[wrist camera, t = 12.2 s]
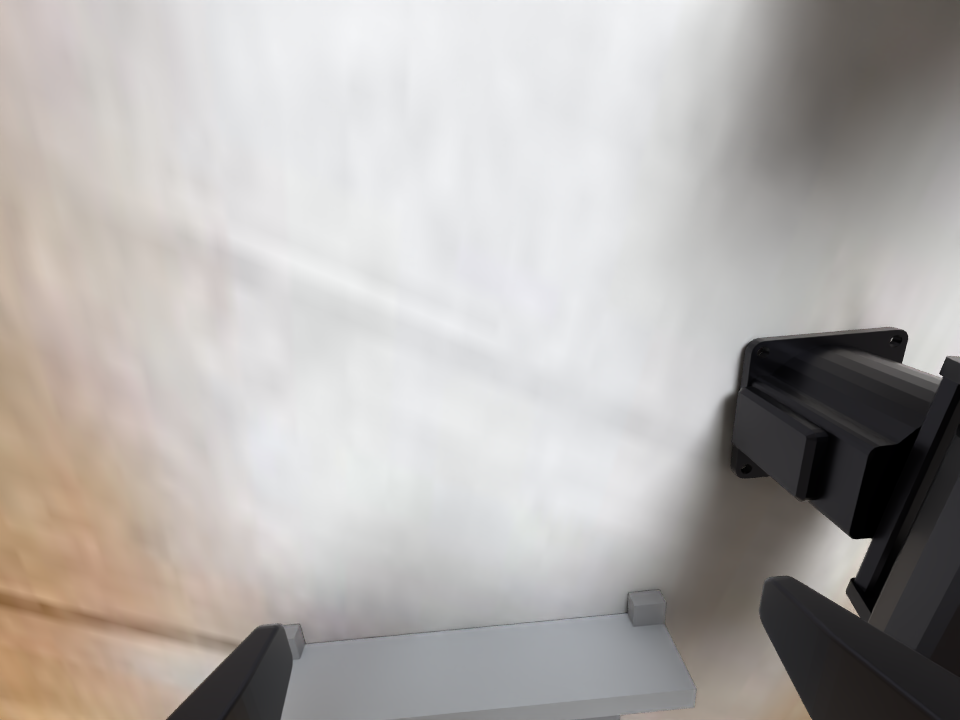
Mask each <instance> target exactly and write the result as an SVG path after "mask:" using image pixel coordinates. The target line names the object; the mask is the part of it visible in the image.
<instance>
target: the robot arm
mask: <svg viewBox="0 0 960 720" xmlns="http://www.w3.org/2000/svg"><path fill="white" fill-rule="evenodd" d="M891 338H893V339H892V341H891V342H890V340H891ZM907 342H908V335H907V332H905V331H904V330H901V329H898V328H894V327H883V328H872V329H860V330H848V331H836V332H825V333H813V334H801V335H790V336H778V337H766V338H757V339H754V340H752V341H751V342H750V343H749V344H748V345H747V347H746V350H745V357H744V365H743V372H742V380H741V388H740V391H739V393H738V398H737V406H736V414H735V422H734V429H733V437H732V443H733V450H732V457H731V470H732V471H733V472H734V473H735V474H736V475H737V476H738V477H740V478H756V477H767V476H771V477H772V478H773V479H774V480H775V481H776V482H778V483H779V484H780V485H781V486H782V487H783V488H785V489H786V490H787V491H788V492H789V493H790V494H792V495H793V496H794V497H795V498H796V499H797V500H799V501H801V502H803V501H808V502H809V503H810V504H812V505H813V506H814V507H815V508H816V509H818V510H819V511H820V512H821V513H822V514H823V515H825V516H826V517H827V518H828V519H829V520H831V521H832V522H833V523H834V524H835V525H837V526H838V527H839V528H840V529H841V530H842V531H844V532H845V533H846V534H847V535H848V536H850V537H851V538H852V539H865V538H871V539H872V541H871V543H870V546H869V548H868V550H867V552H866V555H865V557H864V559H863V562H862V564H861V566H860V569H859V571H858V573H857V575H856V578H851V580H850V582H849V584H848V587H847V589H846V594H847V596H848V598H849V599H850V601H851V603H852V604H853V606H854V608H855V610H856V611H857V613H858V615H859V616H860V617H858V616H856V615H855V614H853V613H851V612H850V611H848V610H846V609H845V608H843V607H841V606H840V605H838V604H836V603H835V602H833V601H831V600H830V599H828V598H826V597H825V596H823V595H821V594H820V593H818V592H816V591H815V590H813V589H811V588H810V587H808V586H806V585H805V584H803V583H801V582H800V581H798V580H796V579H794V578H792V577H790V576H777V577H769V578H767V579H766V580H765V581H764V585H763V591H762V596H761V602H760V607H759V613H760V619H761V621H762V624H763V626H764V628H765V630H766V632H767V634H768V636H769V638H770V640H771V642H772V644H773V646H774V647H775V649H776V651H777V653H778V655H779V657H780V659H781V661H782V663H783V665H784V667H785V669H786V671H787V673H788V675H789V677H790V679H791V681H792V682H793V684H794V686H795V688H796V690H797V692H798V694H799V696H800V698H801V700H802V702H803V704H804V705H805V707H806V709H807V711H808V713H809V715H810V717H811V718H812V720H960V357H957V356H947V357H946V359H945V361H944V364H943V366H942V368H941V371H940V373H939V374H940V375H942V376H943V377H942V378H940V377H937V376H934V375H932V374H929V373H926V372H923V371H920V370H918V369H915V368H912V367H909V366H906V365H903V364H902V361H903V357H904V353H905V349H906V345H907ZM762 347H763V351H762V353H761V354H760V355H757V352H758V350H759V349H760V348H762ZM746 464H747V465H746ZM744 465H746V466H745V467H744V468H742V467H743V466H744ZM741 468H742V469H741ZM292 666H293V655H292V651H291V648H290V644H289V641H288V638H287V634H286V631H285V628H284V626H283V625H282V624H279V623H277V624H267V625H261V626H259V627H257V628H256V629H255V630H254V631H253V632H252V633H251V634H250V635H249V636H248V637H247V638H246V639H245V640H244V641H243V642H242V643H241V644H240V645H239V646H238V647H237V648H236V649H235V650H234V651H233V652H232V653H231V654H230V655H229V656H228V657H227V658H226V659H225V660H224V661H223V662H222V663H221V664H220V665H219V666H218V667H217V668H216V669H215V670H214V671H213V672H212V673H211V674H210V675H209V676H208V677H207V678H206V679H205V680H204V681H203V682H202V683H201V684H200V685H199V686H198V687H197V688H196V690H195V691H194V692H193V693H192V694H191V695H190V696H189V697H188V698H187V699H186V700H185V701H184V702H183V703H182V704H181V705H180V706H179V707H178V708H177V709H176V710H175V711H174V712H173V713H172V714H171V715H170V716H169V717H168V718H167V719H166V720H281V716H282V712H283V707H284V703H285V698H286V694H287V689H288V685H289V681H290V676H291V672H292Z"/></svg>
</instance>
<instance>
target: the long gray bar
mask: <svg viewBox="0 0 960 720" xmlns="http://www.w3.org/2000/svg"><path fill="white" fill-rule="evenodd" d="M665 614H666V601H665V599H664V597H663V595H662V593H661V591H660V590H651V591H640V592H630V593H629V597H628V613H624V614H614V615H603V616H593V617H583V618H572V619H562V620H552V621H541V622H531V623H520V624H510V625H500V626H489V627H479V628H468V629H458V630H448V631H437V632H427V633H416V634H406V635H396V636H385V637H375V638H364V639H354V640H344V641H333V642H323V643H312V644H305V641H304V638H303V634H302V630H301V627H300V624H294V625H284V628H285V631H286V634H287V638H288V641H289V644H290V648H291V651H292V655H293V666H292V672H291V676H290V681H289V685H288V689H287V694H286V698H285V703H284V707H283V712H282V716H281V720H575V719H585V718H595V717H605V716H615V715H625V714H635V713H645V712H655V711H665V710H675V709H685V708H694V707H695V699H696V691H697V688H696V686H695V684H694V682H693V680H692V678H691V676H690V674H689V672H688V670H687V668H686V666H685V664H684V662H683V660H682V658H681V656H680V654H679V652H678V650H677V648H676V646H675V644H674V642H673V640H672V638H671V636H670V634H669V632H668V630H667V628H666V625H665Z"/></svg>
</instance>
